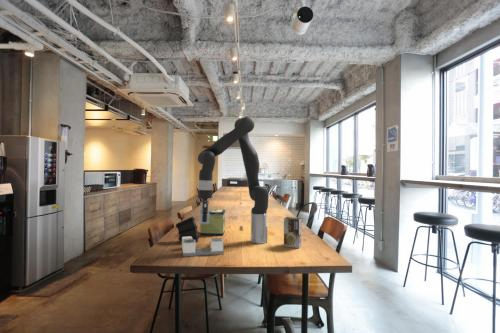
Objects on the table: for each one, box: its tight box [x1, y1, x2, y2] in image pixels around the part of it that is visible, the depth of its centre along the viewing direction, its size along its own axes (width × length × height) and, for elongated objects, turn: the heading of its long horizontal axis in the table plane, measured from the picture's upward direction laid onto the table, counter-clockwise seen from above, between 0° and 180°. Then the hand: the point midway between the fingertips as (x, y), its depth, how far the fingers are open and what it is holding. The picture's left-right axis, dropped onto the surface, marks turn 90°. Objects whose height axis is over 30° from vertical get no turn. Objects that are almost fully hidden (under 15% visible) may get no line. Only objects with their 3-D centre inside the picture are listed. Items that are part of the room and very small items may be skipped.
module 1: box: [181, 236, 193, 250], centre depth 143 cm, size 5×4×6 cm
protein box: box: [199, 208, 226, 237], centre depth 176 cm, size 10×16×16 cm
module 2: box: [198, 209, 210, 225], centre depth 138 cm, size 5×4×7 cm
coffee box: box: [283, 216, 302, 249], centre depth 150 cm, size 9×6×16 cm
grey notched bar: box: [182, 237, 224, 258], centre depth 135 cm, size 20×7×7 cm, turn 104°
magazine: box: [175, 216, 200, 244], centre depth 155 cm, size 4×13×15 cm, turn 81°
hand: (204, 221), depth 138 cm, fingers closed on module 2, 4 cm apart
